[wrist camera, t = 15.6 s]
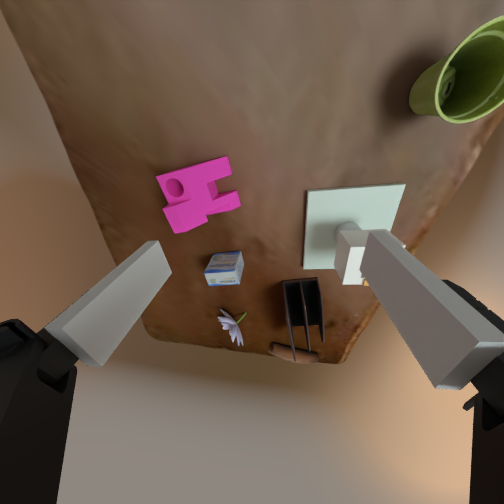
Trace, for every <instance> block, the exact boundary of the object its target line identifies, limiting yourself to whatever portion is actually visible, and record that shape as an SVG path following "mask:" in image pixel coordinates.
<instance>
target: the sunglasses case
mask: <svg viewBox="0 0 504 504" xmlns="http://www.w3.org/2000/svg"><path fill="white" fill-rule="evenodd" d="M268 352H269V353H271V354H273V355H275V356H278V357H280V358H282V359H284V360H286V361H290V362H294V363H302V364H308V363H315V362H317V361H318V353H315V352H309V351H304V350H299V349H295V354H296V362H295V361H294V358H293V353H292V348H291V347H288V346H283V345H280V344H276V343H274V342H273V343H272V345H271V347H270V349H269V351H268Z"/></svg>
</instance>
